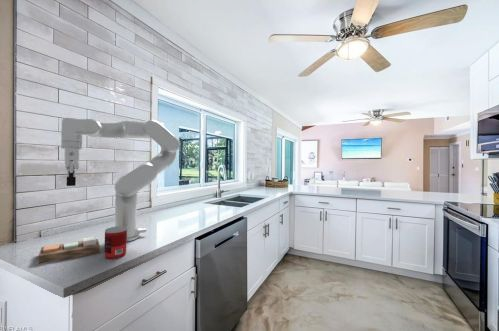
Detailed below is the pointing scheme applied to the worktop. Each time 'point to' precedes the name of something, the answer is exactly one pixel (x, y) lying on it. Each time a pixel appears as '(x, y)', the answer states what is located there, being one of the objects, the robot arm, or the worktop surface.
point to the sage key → (71, 245)
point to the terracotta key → (51, 248)
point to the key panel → (68, 252)
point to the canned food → (115, 242)
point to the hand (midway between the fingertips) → (71, 185)
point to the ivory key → (89, 241)
